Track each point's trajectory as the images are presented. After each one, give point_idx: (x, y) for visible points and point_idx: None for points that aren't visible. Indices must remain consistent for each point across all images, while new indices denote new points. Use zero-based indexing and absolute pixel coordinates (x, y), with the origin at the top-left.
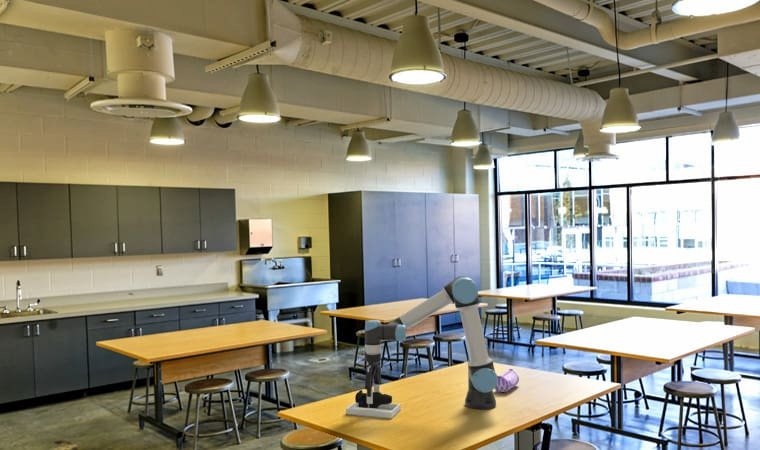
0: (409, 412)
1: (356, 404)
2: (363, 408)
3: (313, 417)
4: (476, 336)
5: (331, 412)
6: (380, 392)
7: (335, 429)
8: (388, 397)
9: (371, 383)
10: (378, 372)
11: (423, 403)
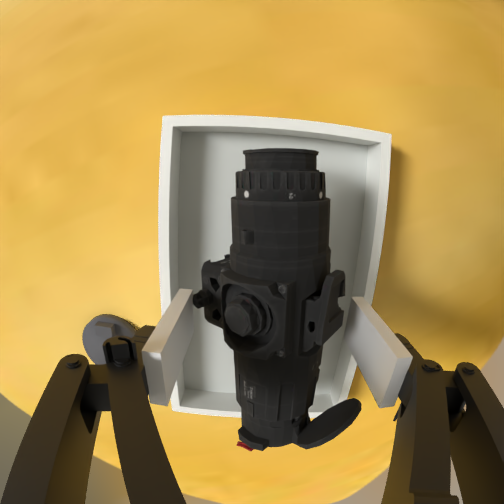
0: (202, 61)
1: (203, 399)
2: (221, 354)
3: (372, 459)
4: None
5: None
6: (260, 284)
7: (500, 341)
8: (311, 171)
9: (445, 406)
10: (62, 475)
11: (30, 71)
